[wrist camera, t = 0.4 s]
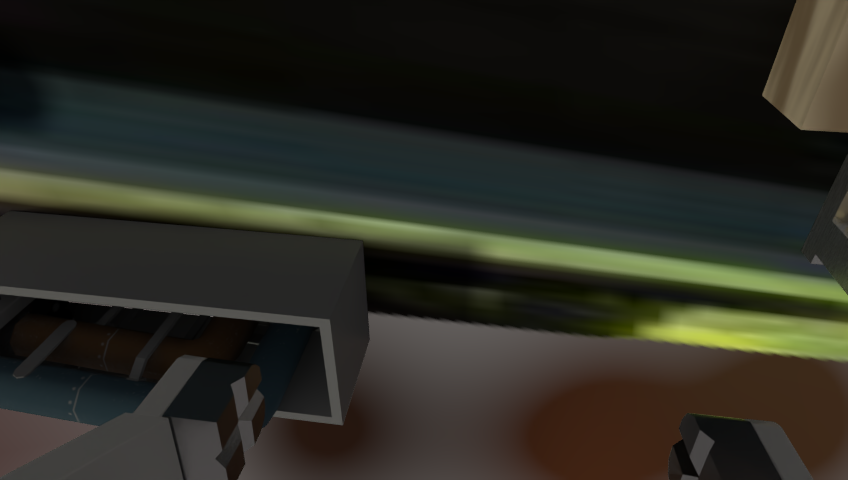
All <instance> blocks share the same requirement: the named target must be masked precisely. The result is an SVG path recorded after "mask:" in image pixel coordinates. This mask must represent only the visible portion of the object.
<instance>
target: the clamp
mask: <svg viewBox="0 0 848 480" xmlns="http://www.w3.org/2000/svg"><path fill="white" fill-rule="evenodd" d="M123 308H124V307H121V306H112V307H111V308H110V309H109V310H108V311H107V312H106V313H105V314H104V315H103V316H102V318H101V319H100V320H99V321H98V322H95V323H90V322H84V321H78V320H75V318H74V315H73V312H72V310H71V307H70V304H69V302H68V301H63V300H53V299H43V298H34V297H24V296H14V295H5V294H0V408H2V409H8V410H13V411H19V412H25V413H30V414H36V415H41V416H47V417H52V418H58V419H63V420H69V421H74V422H79V423H85V424H91V425H96V426H101V425H102V424H104V423H106V422H108V421H110V420H112V419H114V418H116V417H118V416H120V415H122V414H124V413H134V411H135V410H136V409H137V408H138V406H139V405H140V404H141V403H142V401H143V400H144V399H145V398H146V397H147V395H148V394H149V393H150V392H151V390H152V389H153V388H154V387H155V385H156V384H157V383H158V382H159V380H160V379H161V378H162V377H163V375H164V374H165V373H166V372H167V370H168V369H169V368H170V367H171V366H172V364H173V363H174V362H175V361H176V359H177V358H179V357H181V356H183V355H191V356H197V357H204V358H216V359H223V360H230V361H235V360H236V359H237V358H238V357H239V356H240V355H241V353H242V351H243V349H244V348H245V346H246V344H247V343H250V344H256V345H258V347H257V349H256V350H255V352H254V354H253V356H252V358H251V359H250V361H249V363H252V364H256V365H258V366H259V367H260V372H261V378H262V380H261V382H260V384H259V386H258V387H257V389H258V391H259V392H260V393H261V394H262V395H263V396H264V400H265V418H264V422H263V426H262V428H263V427H265V426H266V425H267V424H268V422H269V421H270V419H271V418H272V417H273V415H274V414H275V412H276V411H277V409H278V407H279V405H280V403H281V401H282V398H283V396H284V394H285V392H286V390H287V387H288V385H289V383H290V381H291V378H292V376H293V374H294V372H295V370H296V367H297V365H298V363H299V361H300V358H301V356H302V354H303V352H304V350H305V347H306V345H307V343H308V341H309V339H310V336H311V334H312V332H313V331H320V327H314V326H304V325H294V324H285V323H275V322H265V321H256V320H246V319H236V318H227V317H217V316H214V317H213V318H212V320H211V321H210V322H209V324H208V325H207V327H206V328H205V330H204V331H203V333H202V334H201V336H200V337H199V338H197V339H195V337H196V336H197V334H198V333H199V331H200V330H201V329H202V327H203V326H204V324H205V323H206V321H207V320H208V318H209V317H210V316H208V315H200V316H199V317H198V319H197V320H196V321H195V323H194V324H193V326H192V327H191V328H190V330H189V331H188V333H187V334H186V335H185V337H184V338H178V337H172V336H166V335H167V334H168V333H169V331H170V330H171V329H172V327H173V326H174V325H175V323H176V322H177V321H178V319H179V318H180V317H181V315H182V314H183V313H179V312H171V314H170V315H169V316H168V317H167V319H166V320H165V321H164V322H163V324H162V325H161V326H160V328H159V329H158V330H157V331H156V333H155V334H154V333H148V332H143V331H137V330H131V329H127V328H128V327H129V326H130V325H131V324H132V322H133V321H134V320H135V319H136V318H137V316H138V315H139V314H140V313H141V312H142V310H143V309H140V308H132V309H131V311H130V312H129V313H128V314H127V315H126V316H125V318H124V319H123V320H122V321H121V322H120V324H119V325H118V326H117V327H114V325H113V324H111V323H110V322H111V321H112V320H113V319H114V318H115V317H116V316H117V314H118V313H119V312H120V311H121V310H122V309H123ZM257 325H264V326H269V327H268V329H267V330H266V332H265V334H264V335H262V334H256V333H253V332H254V330H255V329H256V327H257ZM44 360H47V361H52V362H58V363H64V364H65V365H64V367H62V366H57V365H51V364H45V363H42V362H43V361H44ZM80 367H87V368H92V369H98V370H104V371H109V372H115V373H121V374H126V375H130V376H129V377H127V378H125V377H119V376H114V375H108V374H102V373H96V372H91V371H85V370H79V368H80ZM145 378H149V379H154V380H153V381H152V382H148V381H146V379H145Z"/></svg>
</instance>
